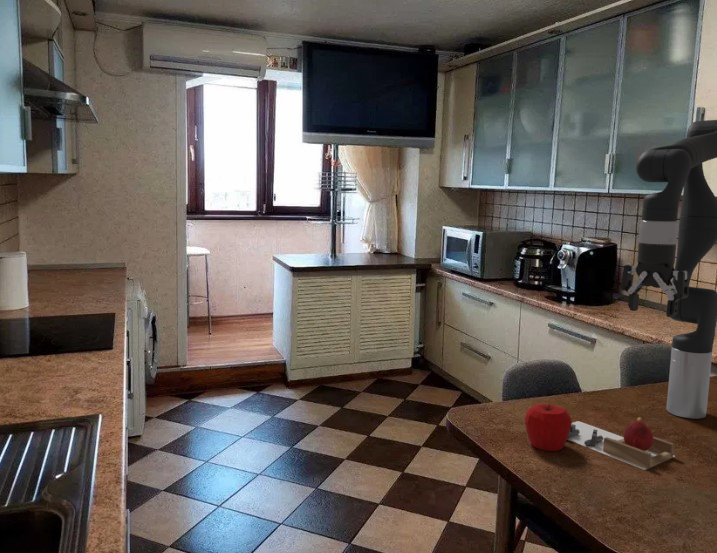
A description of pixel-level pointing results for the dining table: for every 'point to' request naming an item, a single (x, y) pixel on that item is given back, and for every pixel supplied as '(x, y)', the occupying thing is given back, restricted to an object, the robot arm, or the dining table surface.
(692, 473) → the dining table surface
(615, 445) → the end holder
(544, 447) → the apple
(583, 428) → the board
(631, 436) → the onion
